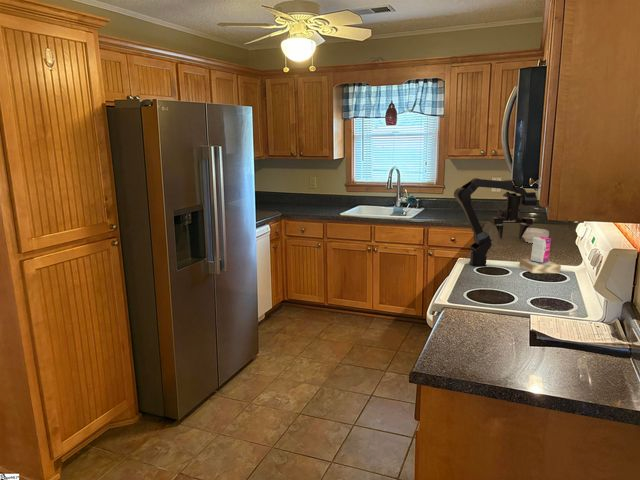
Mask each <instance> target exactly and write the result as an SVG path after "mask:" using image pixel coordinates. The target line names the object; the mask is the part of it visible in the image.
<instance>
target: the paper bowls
mask: <svg viewBox="0 0 640 480" xmlns="http://www.w3.org/2000/svg"><path fill="white" fill-rule="evenodd" d="M549 236H550V231H549V230H548V229H544V228H537V227H528V228H527V229H526V231H525V232H524V234H523V236H522V237H521V238H523V239H524V241H525V243H527V242H528V243H529V244H532V243H533V238H534V237H545V238H549Z"/></svg>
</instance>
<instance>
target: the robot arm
mask: <svg viewBox="0 0 640 480" xmlns="http://www.w3.org/2000/svg"><path fill="white" fill-rule="evenodd" d="M478 188H488V189H489V188H490V189H501V190H503V191H504V190H505V191H506V192H505V193H504V194H503V195H502V197H505V198H507V199H506V207H505V208H504V210H503V209H497V213H496V214H497V216H494V217H493V216H492V217H491V218H490V224H492V225H493V226H495V227H496V230H497V232H498V235H499V239H500V240H502V239H503V232H504V231H503V230H504V224H509V223H510V224H519V232H518V239H519V240H521V239H522V238H523V237H522V236H523V234H524V232H525V231H526V229H527V228H530V227H531V225H532V226H533V225H534V221H535V220H534V219H533V218H531V217H524V216H523V217H519V216H520V212H521V208H520V205H521V206H522V207H536V206H537V204H538V200H539V199H538V196H537V193H536V192H535V191H530V192H527V190H526V188H524V187H523V188H524V189H523V188H520V187H515V186H514V185H513V183H512V179H504V180H497V179H496V180H494V179H485V178H476V177H473V178H472V179H471V180H469V181H468V182H467V183H465V184H463V185H462V186H460V187H457V188H456V189H455V190H454V192H453V197H454V198H455V201H456V202H457V203H458V204H459V205H460V206H461V207H462V210H463V212H464V214H465V217H466V219H467V221H468V223H469V226H470V228H471V231H472V233H473V241H474V242H473V243H472V244H471V245H470V246H469V249H470V251H471V252H470V259H469V262H468V264H469V263H470V265H471V266H472V267H487V259H488V258H487V253H488V251H489V250H490V249H491V247H492V242H493V239H491V236H490V234H489V233H488V232H486V231H484V230H483V229H482V228H483V227H482V226H481V224H480V221H479V219H478V216H477V215H476V211H475V209H474V207H473V205H472V196H471V195H472V194H474V193H475V191H476V190H477V189H478Z"/></svg>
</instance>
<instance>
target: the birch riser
mask: <svg viewBox="0 0 640 480" xmlns="http://www.w3.org/2000/svg"><path fill="white" fill-rule="evenodd" d="M519 267H520V268H521V269H523V270H525V271H528V272H530V273H531V274H561V269H562V265H560V264H558V263H556V262H553V261H552V260H548V262H546V263H542V264H541V263H536V262H531V258H530V259H529V258H528V259H527V258H522V259H521V258H520V259H519Z"/></svg>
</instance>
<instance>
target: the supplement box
mask: <svg viewBox="0 0 640 480" xmlns="http://www.w3.org/2000/svg"><path fill="white" fill-rule="evenodd" d="M551 242H552V238H551V237H550V238H549V237H548V238H545V237H534V238H533V244H532V246H531V255H530V259H531V262H536V263H541V264H542V263H546V262H548V260H549V258H550V252H551V251H550V250H551ZM549 261H550V260H549Z"/></svg>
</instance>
